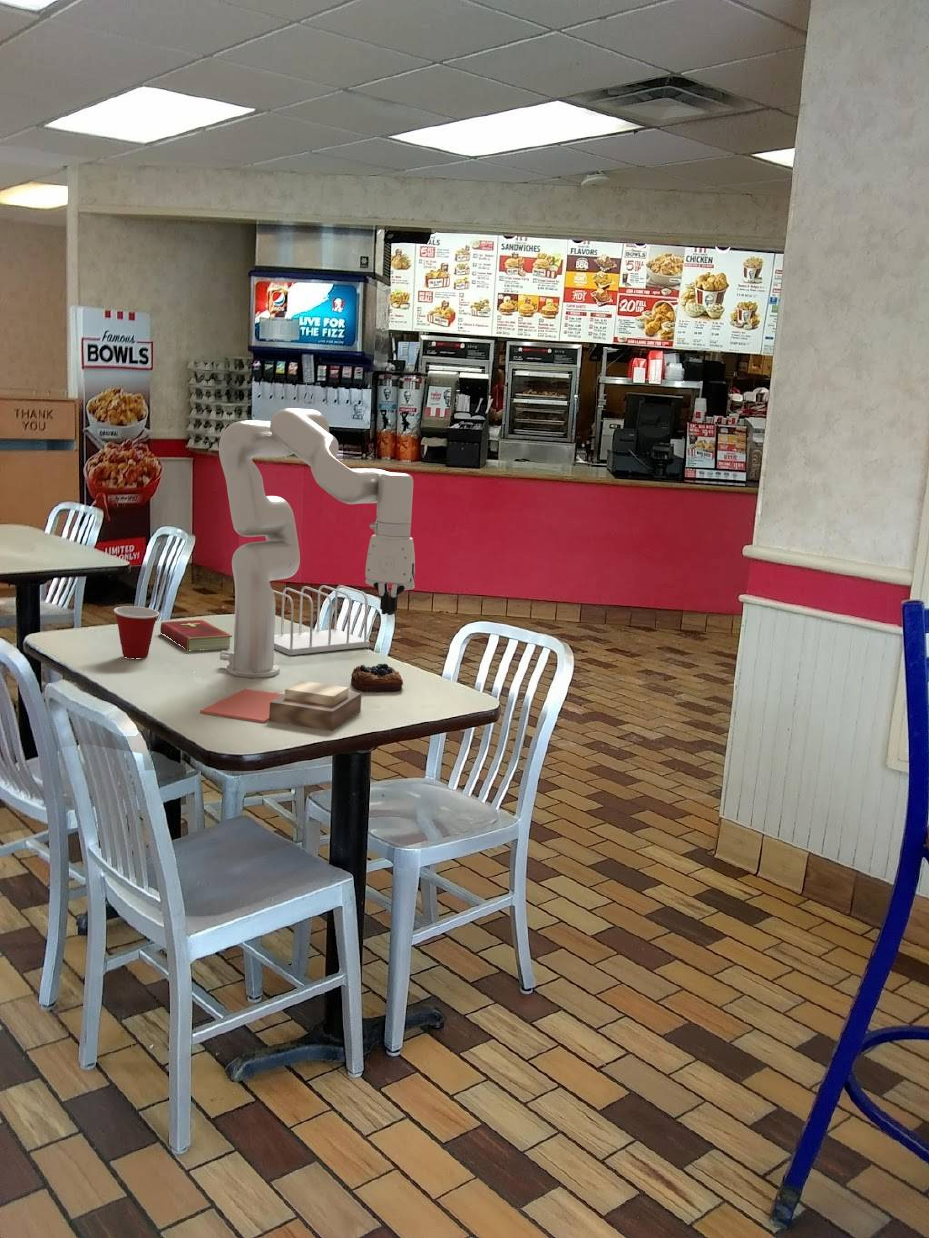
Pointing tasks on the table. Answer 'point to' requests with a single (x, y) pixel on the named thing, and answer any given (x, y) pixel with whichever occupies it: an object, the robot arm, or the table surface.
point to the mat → (244, 705)
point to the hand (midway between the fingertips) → (388, 613)
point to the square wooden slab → (314, 712)
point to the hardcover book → (196, 634)
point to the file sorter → (318, 639)
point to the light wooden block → (316, 693)
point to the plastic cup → (135, 630)
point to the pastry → (376, 679)
